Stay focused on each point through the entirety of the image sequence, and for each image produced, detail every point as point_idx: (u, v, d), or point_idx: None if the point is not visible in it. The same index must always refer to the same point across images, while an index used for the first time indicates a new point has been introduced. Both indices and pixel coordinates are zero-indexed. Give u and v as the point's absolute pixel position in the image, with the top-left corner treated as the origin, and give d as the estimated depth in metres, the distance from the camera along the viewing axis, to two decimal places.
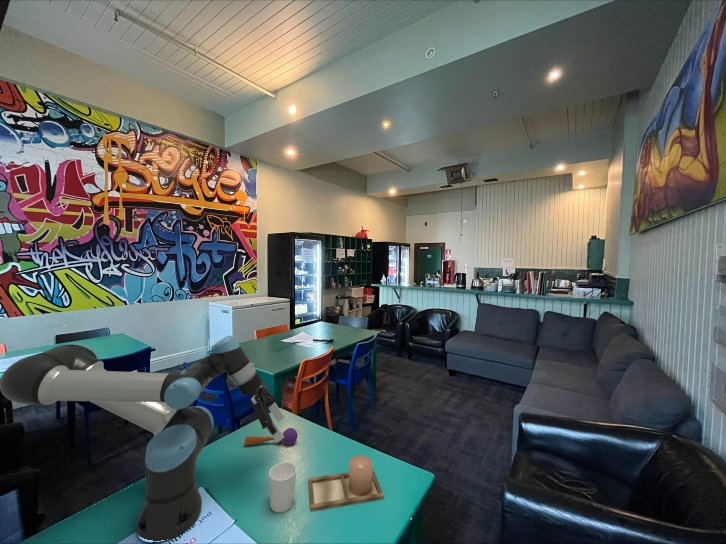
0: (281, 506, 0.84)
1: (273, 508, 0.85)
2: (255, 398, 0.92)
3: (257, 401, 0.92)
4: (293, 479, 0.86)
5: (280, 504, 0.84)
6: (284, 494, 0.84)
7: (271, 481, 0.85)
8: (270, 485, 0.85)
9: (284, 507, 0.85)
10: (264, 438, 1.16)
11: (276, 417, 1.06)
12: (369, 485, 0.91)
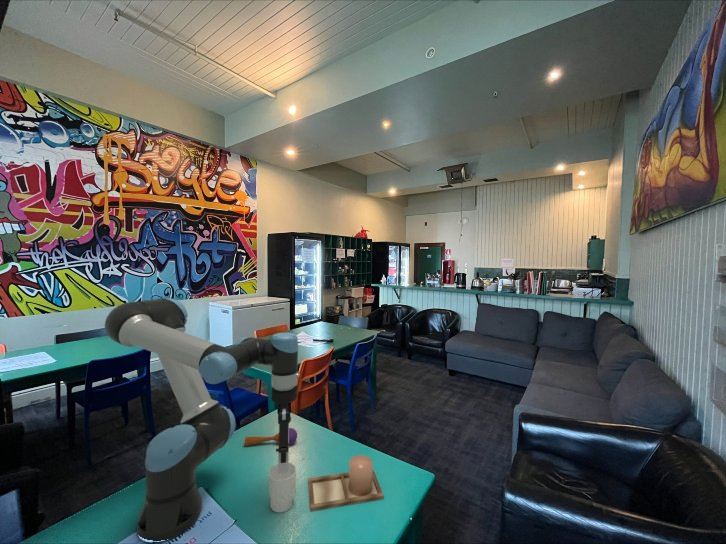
0: (281, 506, 0.84)
1: (273, 508, 0.85)
2: (286, 414, 0.81)
3: (286, 418, 0.81)
4: (293, 479, 0.86)
5: (280, 504, 0.84)
6: (284, 494, 0.84)
7: (271, 481, 0.85)
8: (270, 485, 0.85)
9: (284, 507, 0.85)
10: (264, 438, 1.16)
11: None
12: (369, 485, 0.91)
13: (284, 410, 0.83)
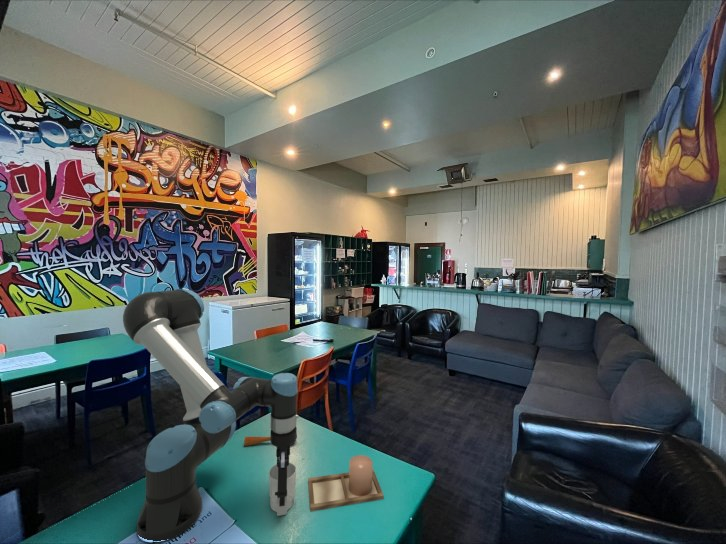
0: None
1: (273, 508, 0.85)
2: (285, 463, 0.81)
3: (285, 466, 0.81)
4: (293, 479, 0.86)
5: None
6: None
7: (271, 481, 0.85)
8: (270, 485, 0.85)
9: None
10: (264, 438, 1.16)
11: None
12: (369, 485, 0.91)
13: (283, 456, 0.83)
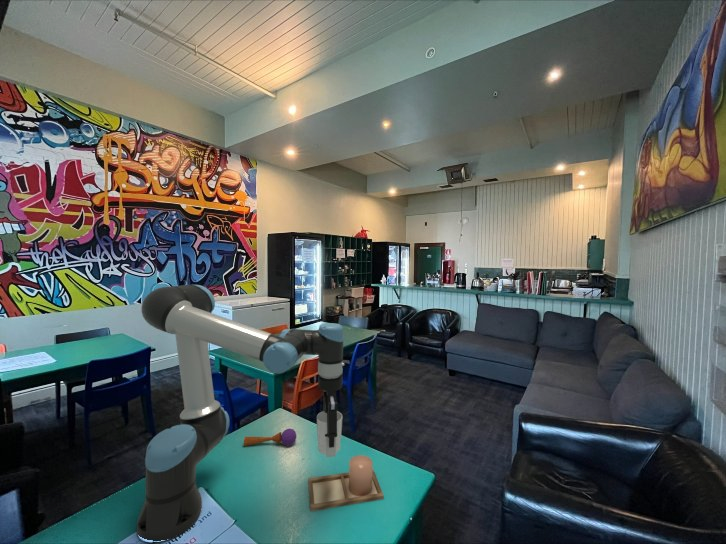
0: None
1: (322, 451, 0.88)
2: (335, 405, 0.84)
3: (335, 408, 0.84)
4: (340, 423, 0.89)
5: None
6: None
7: (320, 424, 0.88)
8: (319, 429, 0.88)
9: None
10: (263, 438, 1.16)
11: None
12: (369, 485, 0.91)
13: (332, 399, 0.86)
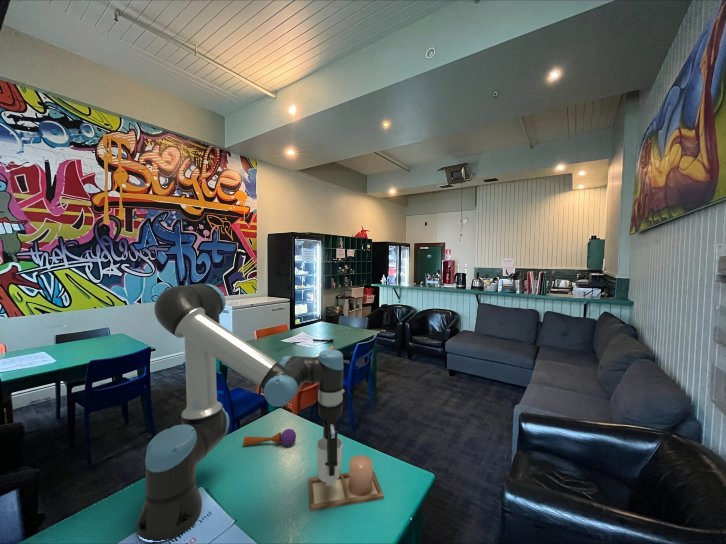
0: None
1: (322, 478, 0.88)
2: (335, 434, 0.84)
3: (335, 437, 0.85)
4: (340, 451, 0.89)
5: None
6: None
7: (320, 452, 0.88)
8: (319, 456, 0.89)
9: None
10: (263, 438, 1.16)
11: None
12: (369, 485, 0.91)
13: (332, 428, 0.86)
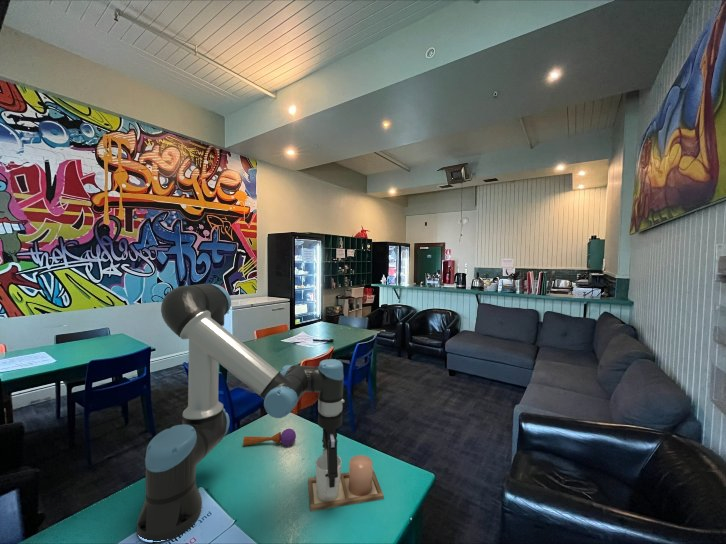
0: None
1: (321, 497, 0.88)
2: (335, 442, 0.84)
3: (335, 446, 0.84)
4: (339, 469, 0.89)
5: None
6: None
7: (319, 471, 0.87)
8: (318, 475, 0.88)
9: (331, 496, 0.88)
10: (263, 438, 1.16)
11: None
12: (369, 485, 0.91)
13: (332, 437, 0.86)
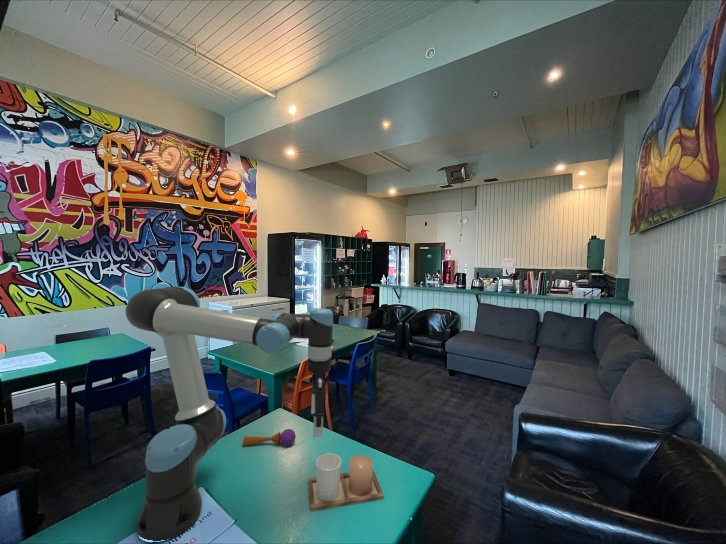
0: (329, 495, 0.87)
1: (321, 497, 0.88)
2: (322, 382, 0.87)
3: (322, 386, 0.87)
4: (339, 469, 0.89)
5: (328, 493, 0.87)
6: (332, 483, 0.87)
7: (319, 471, 0.87)
8: (318, 475, 0.88)
9: (331, 496, 0.88)
10: (263, 438, 1.16)
11: (312, 408, 0.99)
12: (369, 485, 0.91)
13: (320, 379, 0.89)
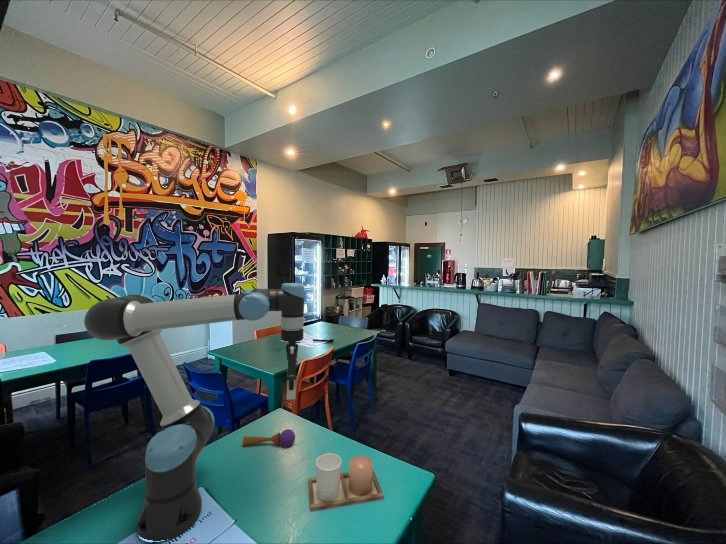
0: (329, 495, 0.87)
1: (321, 497, 0.88)
2: (294, 349, 0.94)
3: (294, 353, 0.94)
4: (339, 469, 0.89)
5: (328, 493, 0.87)
6: (332, 483, 0.87)
7: (319, 471, 0.87)
8: (318, 475, 0.88)
9: (331, 496, 0.88)
10: (262, 438, 1.16)
11: None
12: (369, 485, 0.91)
13: (292, 347, 0.96)
